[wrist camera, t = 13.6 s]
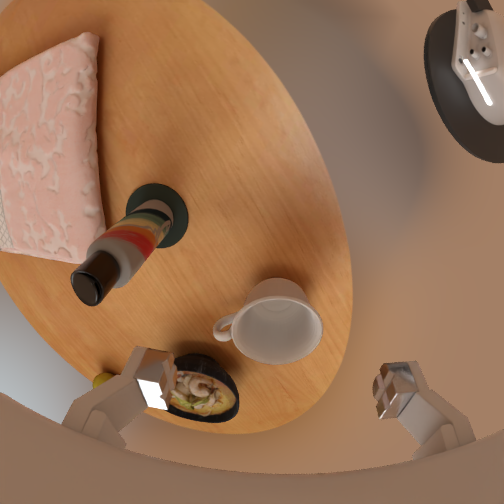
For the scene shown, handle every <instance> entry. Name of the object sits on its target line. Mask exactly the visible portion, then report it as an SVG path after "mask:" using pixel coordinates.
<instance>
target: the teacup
mask: <svg viewBox="0 0 504 504" xmlns="http://www.w3.org/2000/svg"><path fill="white" fill-rule="evenodd" d="M231 323H232V325H231V327H230V329H229V330H227V331H224V332H220V330H221V329H222V328H223V327H224V326H226V325H228V324H231ZM213 334H214V336H215V338H216V339H217V340H219V341H228V340H230V339H233V341H234V343H235V345H236V347H237V348H238V349H239V350H240V351H241V352H242V353H243V354H244V355H245V356H247V357H249V358H251V359H253V360H255V361H258V362H261V363H265V364H272V365H281V364H288V363H292V362H295V361H298V360H300V359H302V358H304V357H305V356H307V355H308V354H310V353H311V352H312V351H313V350H314V349H315V348H316V347H317V346H318V344H319V343H320V341H321V338H322V335H323V323H322V319H321V317H320V315H319V314H318V312H317V311H316V310H315V309H314V308H313V307H312V306H311V305H310V303H309V301H308V298H307V296H306V295H305V293H304V291H303V290H302V289H301V288H300V287H299V286H298V285H297V284H296V283H294V282H292V281H290V280H288V279H284V278H270V279H266V280H264V281H262V282H260V283H258V284H257V285H256V286H255V287H253V289H252V290H251V291H250V292H249V294H248V296H247V298H246V300H245V303H244V306H243V308H242V309H241V310H239V311H238V312H236V313H233V314H230V315H227V316H224V317H222V318H220V319H219V320H218V321H217V322H216V323H215V324H214V326H213Z"/></svg>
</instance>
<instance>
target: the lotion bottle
mask: <svg viewBox="0 0 504 504" xmlns="http://www.w3.org/2000/svg"><path fill="white" fill-rule="evenodd" d="M172 225H173V213H172V211H171V209H170V208H169V206H168V205H167V204H166V203H164V202H162V201H160V200H149V201H147V202H145V203H143V204H142V205H140V206H139V207H137V208H136V209H135V210H133V211H132V212H131V213H129V214H128V215H127V216H125V217H124V218H123V219H121V220H120V221H119V222H117V223H116V224H115V225H113V226H112V227H111V228H110V229H108V230H107V231H106V232H105V233H103V234H102V235H101V236H100V237H98V238H97V239H96V240H95V241H94V242H93V243H92V244H91V245H90V246H89V248H88V250H87V253H86V260H85V261H84V262H83V263H82V264H81V265H80V266H79V267H78V268H77V269H76V270H75V271H74V272H73V273H72V274H71V284H72V287H73V289H74V291H75V293H76V295H77V296H78V298H79V299H80V300H81V301H82V302H83V303H84V304H86V305H88V306H96V305H98V304H99V303H101V301H102V300H103V299H104V298H105V296H106V295H107V294H108V293H109V292H110V290H111V289H112V288H120V287H123V286H124V285H126V284H127V283H128V282H129V281H130V280H131V278H132V277H133V276H134V275H135V273H136V272H137V271H138V269H139V268H140V267H141V266H142V264H143V263H144V262H145V261H146V259H147V258H148V257H149V256H150V254H151V253H152V252H153V251H154V249H155V248H156V247H157V246H158V244H159V243H160V242H161V241H162V240H163V238H164V237H165V236H166V235H167V234H168V232H169V231H170V229H171V228H172Z"/></svg>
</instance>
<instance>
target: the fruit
mask: <svg viewBox="0 0 504 504" xmlns="http://www.w3.org/2000/svg"><path fill="white" fill-rule="evenodd" d="M114 376H115V375H114V374H112V373H101V374H99V375H97V376H96V377H95V378H94V381H93V389H94V388H96V387H98V386H99V385H101V384H102V383H104V382H106V381H107V380H109V379H111V378H112V377H114Z"/></svg>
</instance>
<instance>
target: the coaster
mask: <svg viewBox="0 0 504 504" xmlns="http://www.w3.org/2000/svg"><path fill="white" fill-rule="evenodd" d="M149 200H160V201H162V202H164V203H166V204H167V205H168V206H169V208H170V209H171V211H172V213H173V225H172V228H171V229H170V231H169V232H168V234H167V235H166V236H165V237H164V238H163V240H162V241H161V242H160V243H159V244H158V246H157V247H156V248H167V247H170V246H172V245H174V244H176V243H177V242H178V241H179V240H180V239H181V238H182V237H183V235H184V234H185V232H186V229H187V226H188V212H187V208H186V205H185V203H184V201H183V200H182V198H181V197H180V196H179V194H178V193H177V192H175V191H174V190H173V189H171V188H170V187H168V186H165V185H162V184H156V183H153V184H147V185H144V186H142V187H140V188H138V189H137V190H136V191H135V192H134V193H133V194H132V195H131V196H130V198H129V200H128V203H127V206H126V216H127V215H128V214H129V213H131V212H132V211H133V210H135V209H136V208H137V207H139V206H140V205H142V204H143V203H145V202H147V201H149Z"/></svg>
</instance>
